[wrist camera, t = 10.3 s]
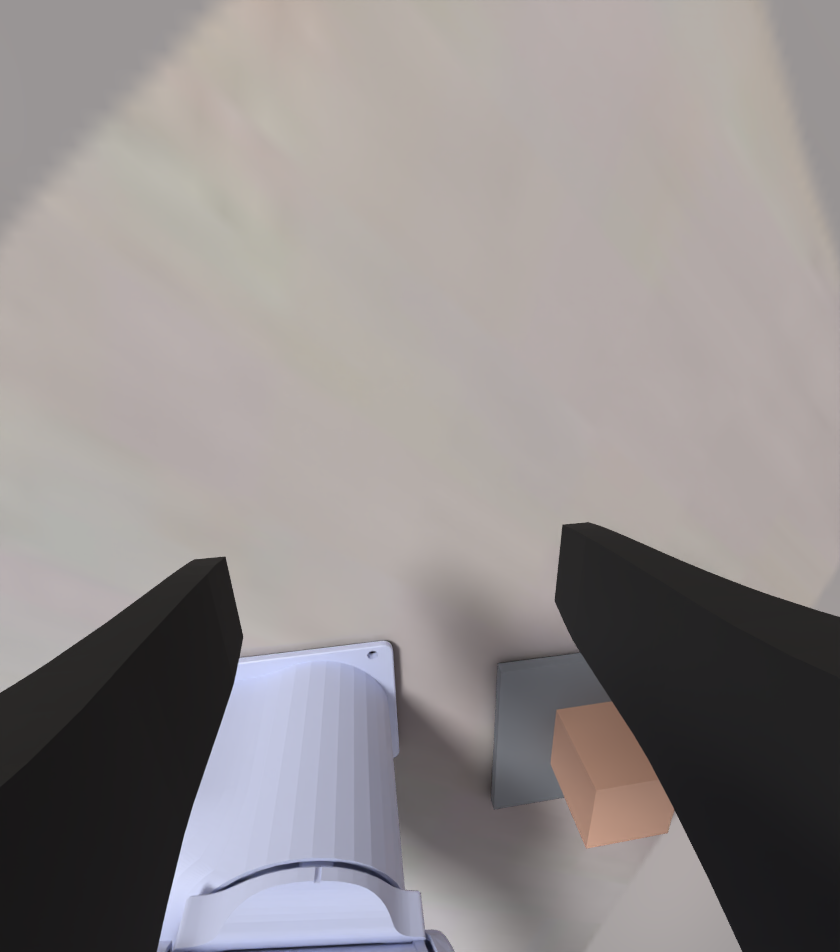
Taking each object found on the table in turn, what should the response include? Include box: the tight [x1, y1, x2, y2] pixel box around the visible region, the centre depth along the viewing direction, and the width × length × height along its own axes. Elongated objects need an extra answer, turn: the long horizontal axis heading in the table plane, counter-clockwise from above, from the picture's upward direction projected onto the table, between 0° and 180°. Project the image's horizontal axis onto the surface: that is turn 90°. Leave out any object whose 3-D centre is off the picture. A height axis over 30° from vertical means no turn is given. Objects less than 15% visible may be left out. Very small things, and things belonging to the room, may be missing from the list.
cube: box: [550, 701, 674, 849], centre depth 24 cm, size 4×4×4 cm
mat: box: [491, 653, 611, 809], centre depth 26 cm, size 11×11×1 cm
